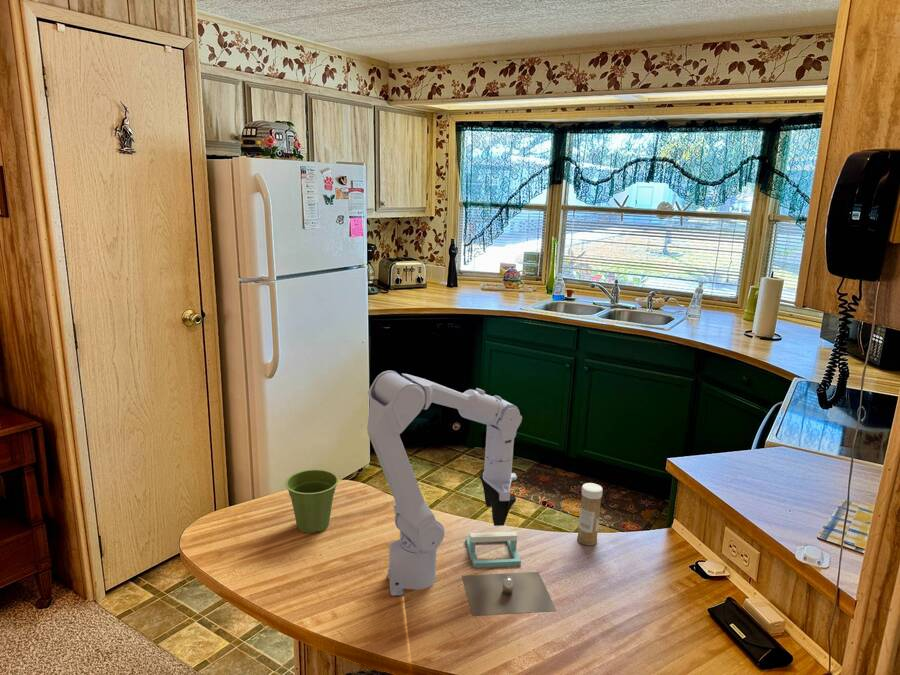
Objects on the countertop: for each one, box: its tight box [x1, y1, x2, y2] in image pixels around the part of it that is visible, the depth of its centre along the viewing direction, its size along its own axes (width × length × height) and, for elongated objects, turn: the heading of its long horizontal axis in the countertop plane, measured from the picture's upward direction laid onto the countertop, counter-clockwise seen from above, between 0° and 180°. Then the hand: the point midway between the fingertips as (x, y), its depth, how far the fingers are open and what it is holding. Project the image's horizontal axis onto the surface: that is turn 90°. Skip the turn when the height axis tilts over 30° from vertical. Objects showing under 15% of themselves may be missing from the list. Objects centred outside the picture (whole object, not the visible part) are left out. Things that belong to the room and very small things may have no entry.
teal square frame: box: [465, 530, 522, 569], centre depth 132 cm, size 10×10×5 cm
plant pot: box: [284, 468, 340, 534], centre depth 140 cm, size 12×12×11 cm
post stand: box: [461, 571, 557, 617], centre depth 119 cm, size 16×12×4 cm
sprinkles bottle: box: [576, 482, 604, 546], centre depth 139 cm, size 5×5×14 cm
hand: (494, 515), depth 130 cm, fingers open, 7 cm apart
